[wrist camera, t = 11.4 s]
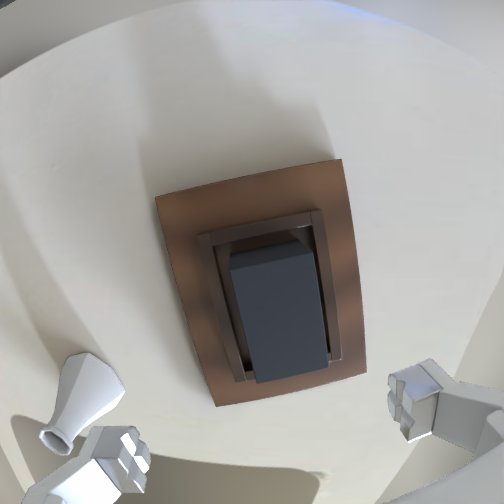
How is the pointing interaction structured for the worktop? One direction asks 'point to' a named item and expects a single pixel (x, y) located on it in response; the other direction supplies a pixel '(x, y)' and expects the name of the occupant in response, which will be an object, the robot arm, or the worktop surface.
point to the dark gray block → (280, 309)
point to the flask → (80, 400)
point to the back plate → (258, 235)
